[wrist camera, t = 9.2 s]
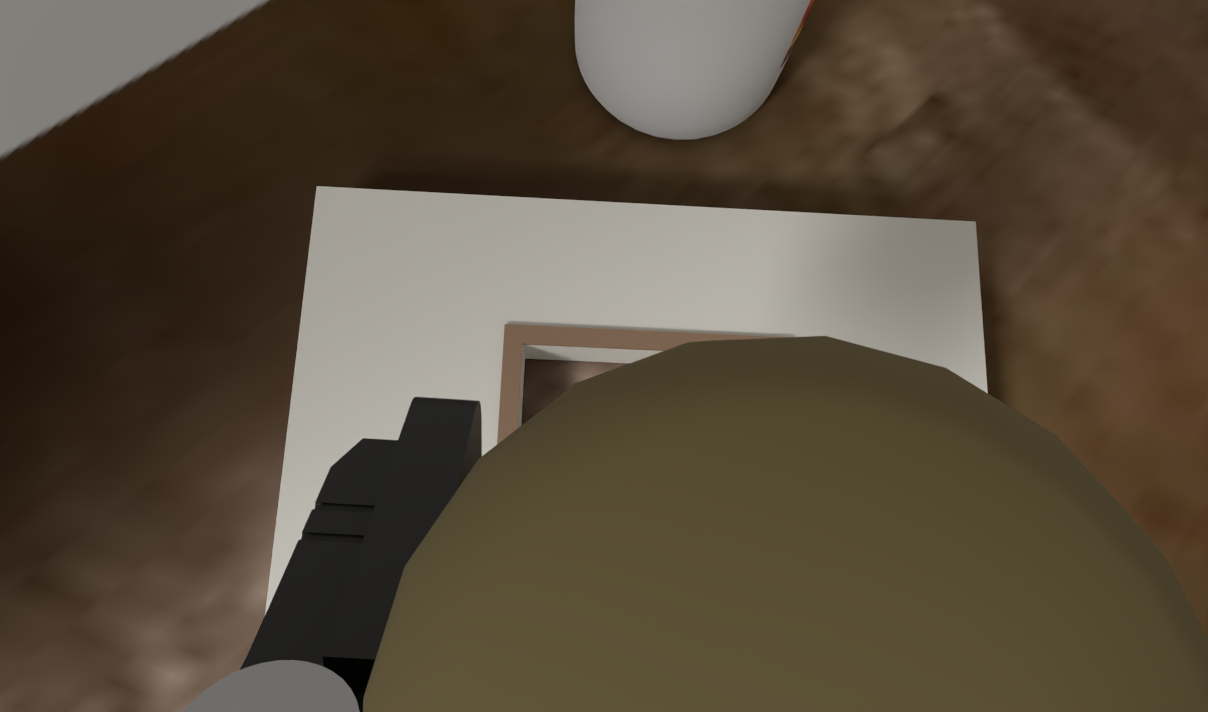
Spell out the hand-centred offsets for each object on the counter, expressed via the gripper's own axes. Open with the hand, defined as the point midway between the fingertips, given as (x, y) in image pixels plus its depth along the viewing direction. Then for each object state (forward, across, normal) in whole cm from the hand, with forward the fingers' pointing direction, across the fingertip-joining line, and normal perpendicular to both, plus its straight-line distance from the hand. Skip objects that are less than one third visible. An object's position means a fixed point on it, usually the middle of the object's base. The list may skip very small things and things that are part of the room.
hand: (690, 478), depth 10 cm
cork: (+2, 0, +5) cm, 6 cm away
